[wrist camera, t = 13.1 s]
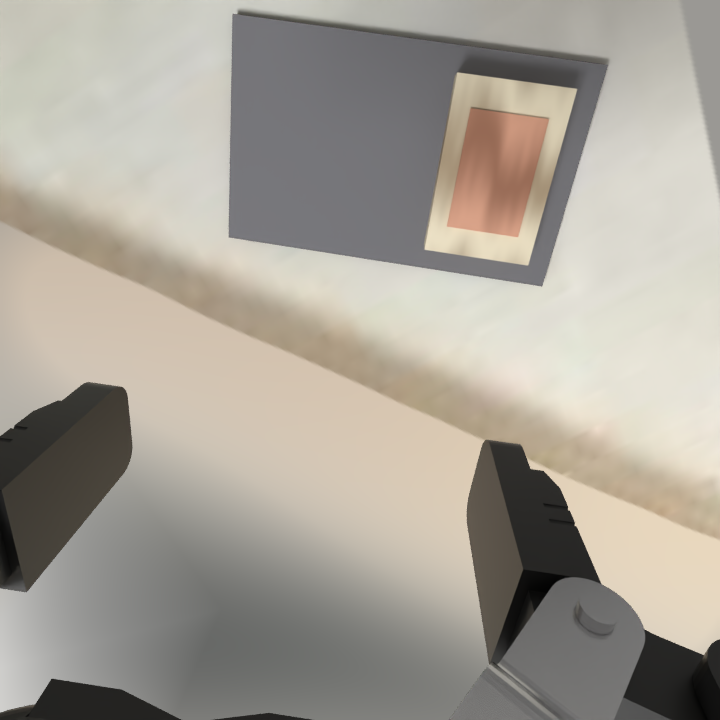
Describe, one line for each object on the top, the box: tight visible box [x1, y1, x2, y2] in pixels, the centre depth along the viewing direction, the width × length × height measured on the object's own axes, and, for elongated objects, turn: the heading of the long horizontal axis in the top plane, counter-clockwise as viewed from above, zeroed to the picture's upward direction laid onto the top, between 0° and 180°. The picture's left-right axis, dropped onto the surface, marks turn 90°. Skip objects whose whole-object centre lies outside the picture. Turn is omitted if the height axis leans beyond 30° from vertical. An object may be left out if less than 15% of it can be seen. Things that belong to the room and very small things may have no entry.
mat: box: [229, 14, 608, 286], centre depth 29 cm, size 20×12×1 cm, turn 83°
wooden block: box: [424, 72, 577, 266], centre depth 28 cm, size 9×2×6 cm
